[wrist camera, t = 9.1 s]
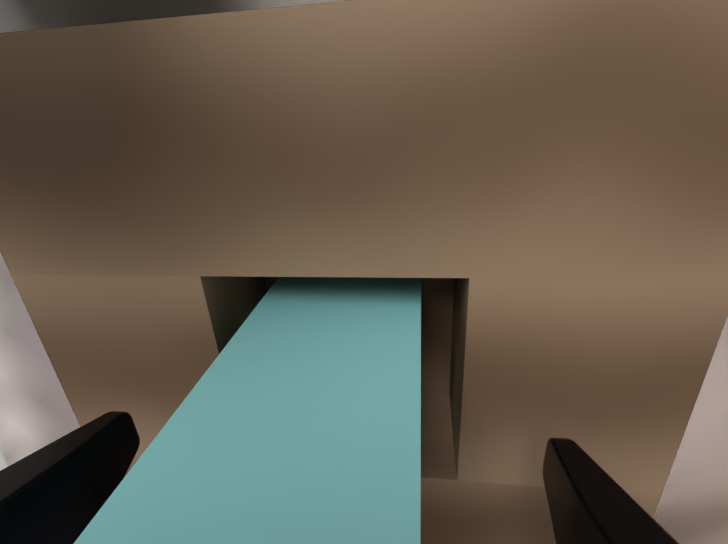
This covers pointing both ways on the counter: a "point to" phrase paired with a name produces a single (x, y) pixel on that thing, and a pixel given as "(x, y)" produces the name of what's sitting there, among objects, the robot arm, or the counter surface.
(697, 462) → the counter surface
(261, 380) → the teal peg
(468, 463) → the walnut socket
